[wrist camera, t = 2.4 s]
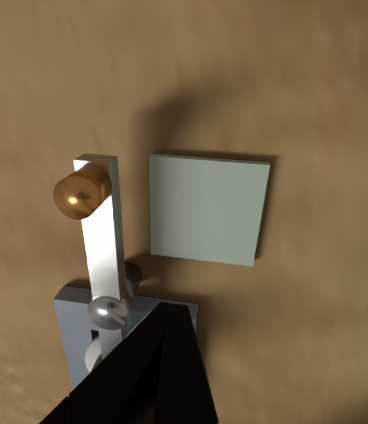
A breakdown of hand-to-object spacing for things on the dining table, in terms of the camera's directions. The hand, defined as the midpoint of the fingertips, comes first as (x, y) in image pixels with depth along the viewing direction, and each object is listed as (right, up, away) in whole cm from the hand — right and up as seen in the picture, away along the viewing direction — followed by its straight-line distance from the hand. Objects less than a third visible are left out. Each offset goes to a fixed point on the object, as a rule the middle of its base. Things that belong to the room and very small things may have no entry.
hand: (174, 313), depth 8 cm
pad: (+2, +3, +11) cm, 11 cm away
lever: (-4, 0, +13) cm, 13 cm away
